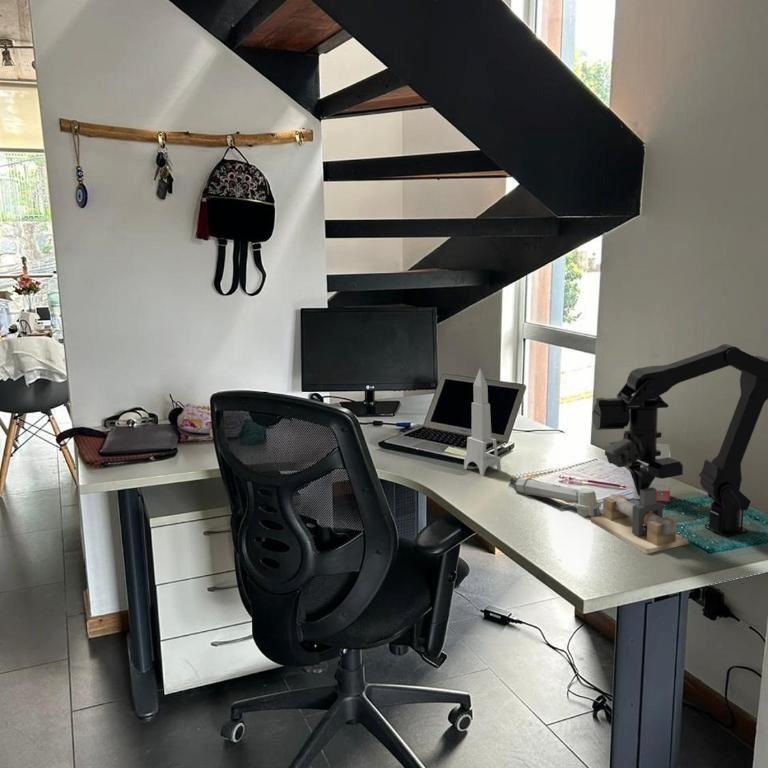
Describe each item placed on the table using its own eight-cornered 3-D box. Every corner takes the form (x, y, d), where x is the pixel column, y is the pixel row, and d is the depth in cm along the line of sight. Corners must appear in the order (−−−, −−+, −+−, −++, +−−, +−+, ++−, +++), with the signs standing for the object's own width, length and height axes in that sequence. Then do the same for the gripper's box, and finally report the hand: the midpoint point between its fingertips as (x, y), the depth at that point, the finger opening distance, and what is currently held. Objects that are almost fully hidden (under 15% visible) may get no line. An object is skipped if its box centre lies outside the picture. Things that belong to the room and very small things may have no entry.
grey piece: (524, 474, 192) (603, 485, 172) (527, 499, 192) (606, 512, 172) (511, 479, 189) (589, 491, 169) (513, 504, 189) (592, 518, 169)
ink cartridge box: (669, 495, 183) (671, 439, 179) (669, 502, 178) (671, 445, 175) (633, 492, 186) (635, 437, 183) (632, 499, 181) (634, 443, 178)
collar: (655, 527, 161) (657, 485, 159) (662, 530, 159) (663, 488, 157) (632, 533, 159) (633, 490, 157) (638, 536, 157) (639, 493, 155)
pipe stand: (629, 513, 172) (630, 489, 171) (688, 543, 155) (689, 517, 154) (590, 521, 169) (591, 497, 168) (646, 553, 151) (647, 526, 150)
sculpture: (482, 475, 204) (480, 371, 197) (463, 468, 210) (461, 367, 204) (500, 470, 207) (499, 367, 201) (482, 463, 214) (480, 364, 208)
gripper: (585, 422, 162) (584, 488, 165) (641, 443, 145) (639, 517, 148) (626, 416, 166) (624, 480, 169) (686, 436, 148) (683, 507, 152)
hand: (641, 495), depth 159 cm, fingers closed
